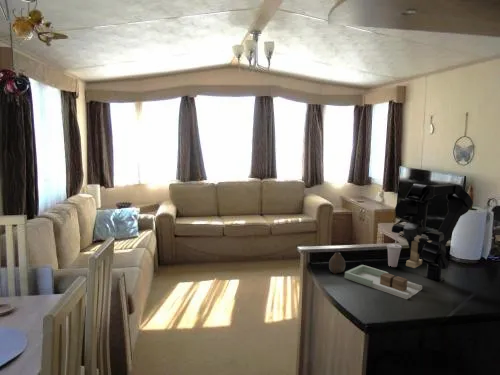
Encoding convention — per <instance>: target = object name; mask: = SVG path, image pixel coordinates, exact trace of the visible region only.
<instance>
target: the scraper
mask: <svg viewBox="0 0 500 375" xmlns="http://www.w3.org/2000/svg"><path fill="white" fill-rule="evenodd" d="M418 246H419V240H416V239H414V240H413V241H412V244H411V252H410V256H409V259H408V260H406V263H405V266H406V267H409V268H412V269H416V268H417V267H420V266H421V265H423V260H422V258H421V259H420V254H418Z"/></svg>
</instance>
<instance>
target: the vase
mask: <svg viewBox="0 0 500 375" xmlns="http://www.w3.org/2000/svg"><path fill="white" fill-rule="evenodd" d="M328 268H329V270H330V272H331V273H333V274H334V275H335V274H338V273H339V274H340V273H344V272H345V269H346V260H345V259H344V257H343V256H342V253H341V252H335V253H334V254H333V255H332V256H331V258H330V259H329V262H328Z"/></svg>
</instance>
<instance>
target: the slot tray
mask: <svg viewBox="0 0 500 375" xmlns="http://www.w3.org/2000/svg"><path fill="white" fill-rule="evenodd" d="M384 273H388V274H390V273H389V272H388V271H385V270H381V269H378V268H375V267H371V266H368V265H366V264H365V265H364V264H360V265H358V266H356V267H353V268H351V269H348V270H346V271H344V279H346V280H349V281H353V282H354V283H355V282H356V283H358V284H361V285H362V286H363V285H364V286H367V287H369V288H372V289H375V290H378V291H381V292H385V293H387V294H390V295H393V296H396V297H398V298H402V299H404V300H408V299H410V298H412V297H413V296H415V295H416V294H417V293H419V292H420V291H422V290H423V285H421V284H418V283H414V282H412V281H409V280H407V289H406V290H404V291H403V292H402V291H399V290H396V289H393V288H392V287H387V286H384V285H381V284H380V277H381V275H382V274H384Z"/></svg>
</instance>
